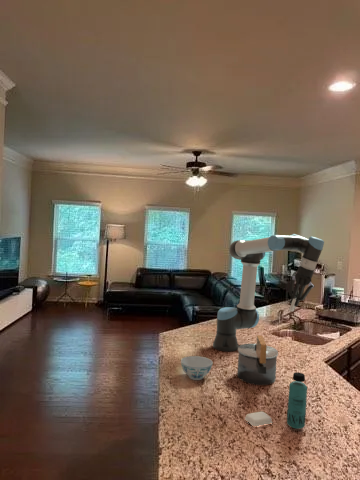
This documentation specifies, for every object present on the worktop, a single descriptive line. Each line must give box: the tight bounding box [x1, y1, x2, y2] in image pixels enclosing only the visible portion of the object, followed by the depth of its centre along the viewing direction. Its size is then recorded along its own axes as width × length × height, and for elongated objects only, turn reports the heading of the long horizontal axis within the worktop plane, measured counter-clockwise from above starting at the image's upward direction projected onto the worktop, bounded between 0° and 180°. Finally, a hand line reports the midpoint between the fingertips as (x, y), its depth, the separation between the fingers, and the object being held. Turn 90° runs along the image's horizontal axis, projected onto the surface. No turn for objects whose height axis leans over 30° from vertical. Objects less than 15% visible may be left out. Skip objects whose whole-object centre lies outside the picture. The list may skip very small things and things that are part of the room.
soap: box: [244, 410, 274, 426], centre depth 141 cm, size 9×7×3 cm
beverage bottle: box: [286, 372, 308, 430], centre depth 137 cm, size 6×7×20 cm
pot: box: [237, 352, 278, 386], centre depth 181 cm, size 32×18×12 cm, turn 175°
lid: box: [237, 334, 279, 364], centre depth 179 cm, size 28×19×9 cm, turn 175°
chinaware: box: [180, 355, 213, 381], centre depth 181 cm, size 15×15×8 cm
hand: (291, 310), depth 194 cm, fingers closed
